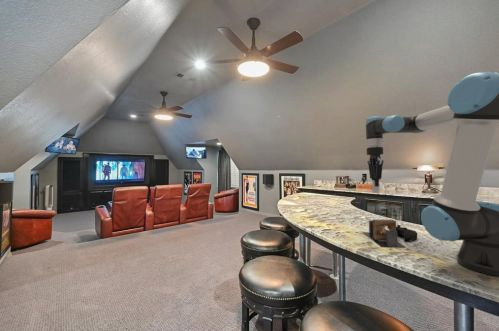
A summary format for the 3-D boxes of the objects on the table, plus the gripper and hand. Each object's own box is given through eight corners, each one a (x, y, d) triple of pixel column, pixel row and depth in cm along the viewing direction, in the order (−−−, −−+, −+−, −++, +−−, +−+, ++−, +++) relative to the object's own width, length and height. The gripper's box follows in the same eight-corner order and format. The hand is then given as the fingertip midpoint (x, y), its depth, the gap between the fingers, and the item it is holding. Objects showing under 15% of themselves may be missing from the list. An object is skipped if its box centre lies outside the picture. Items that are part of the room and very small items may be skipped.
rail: (405, 247, 96) (405, 231, 97) (381, 247, 98) (380, 230, 98) (382, 233, 117) (382, 219, 117) (362, 232, 119) (362, 219, 119)
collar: (396, 240, 103) (395, 221, 103) (376, 240, 104) (375, 221, 104) (393, 238, 106) (392, 219, 106) (373, 237, 107) (372, 219, 107)
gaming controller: (381, 225, 116) (396, 220, 119) (383, 236, 117) (398, 231, 119) (406, 233, 103) (422, 227, 105) (408, 246, 103) (424, 239, 105)
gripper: (388, 145, 107) (390, 194, 106) (376, 148, 120) (377, 191, 119) (372, 146, 108) (373, 194, 107) (362, 148, 120) (363, 191, 120)
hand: (375, 192), depth 113 cm, fingers closed
